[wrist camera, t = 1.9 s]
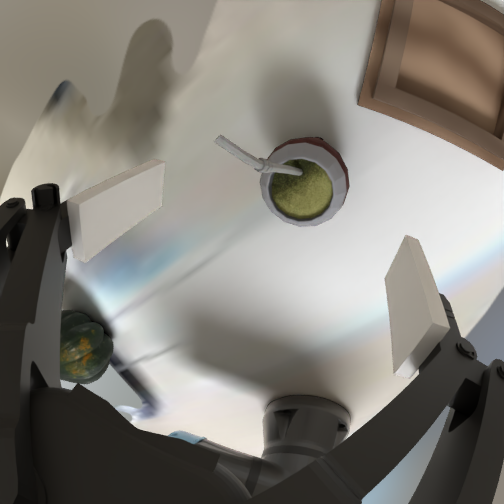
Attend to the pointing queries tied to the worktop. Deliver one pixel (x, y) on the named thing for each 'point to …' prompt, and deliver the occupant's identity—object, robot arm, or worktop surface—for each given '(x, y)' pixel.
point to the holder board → (441, 71)
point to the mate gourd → (299, 179)
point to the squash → (82, 348)
